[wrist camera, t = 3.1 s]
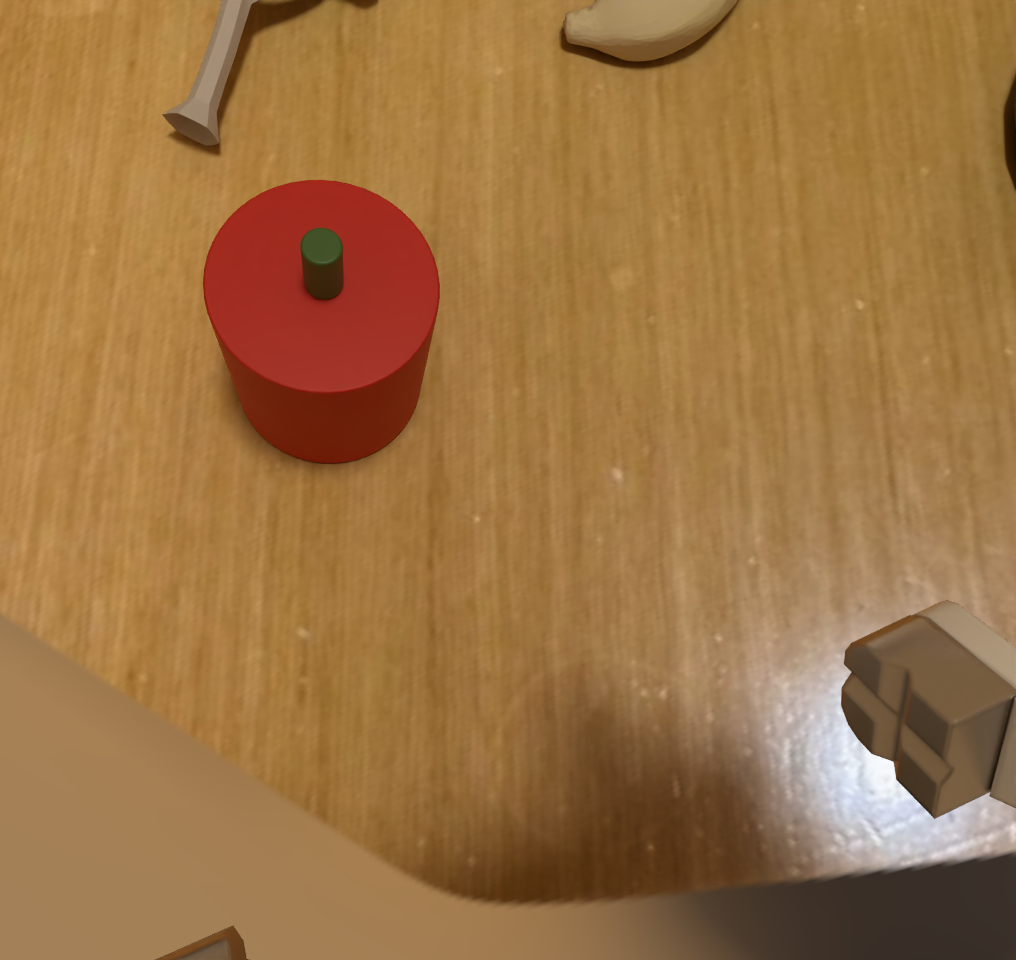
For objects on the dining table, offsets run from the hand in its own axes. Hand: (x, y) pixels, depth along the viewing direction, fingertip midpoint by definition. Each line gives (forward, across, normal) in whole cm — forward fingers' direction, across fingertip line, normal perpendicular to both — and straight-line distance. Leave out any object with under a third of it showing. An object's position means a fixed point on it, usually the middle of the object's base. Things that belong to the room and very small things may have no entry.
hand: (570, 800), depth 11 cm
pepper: (+21, -1, +4) cm, 21 cm away
